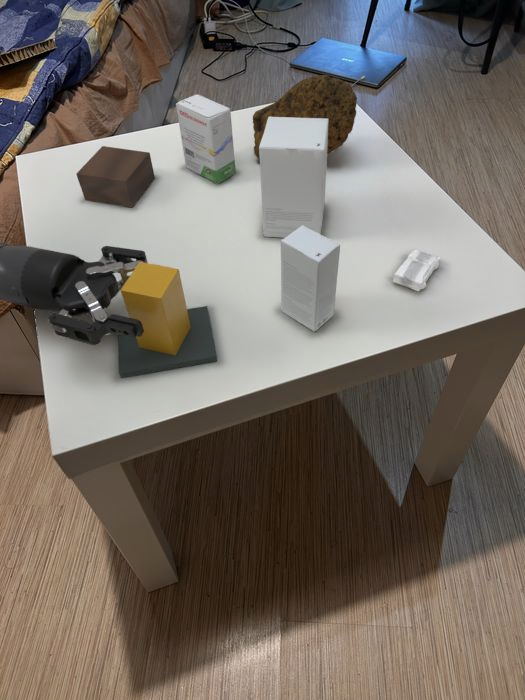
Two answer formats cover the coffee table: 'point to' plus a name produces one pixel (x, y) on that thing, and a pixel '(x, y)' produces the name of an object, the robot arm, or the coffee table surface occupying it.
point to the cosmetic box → (309, 277)
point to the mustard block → (157, 306)
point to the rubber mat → (190, 353)
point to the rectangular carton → (293, 174)
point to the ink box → (207, 137)
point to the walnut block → (116, 176)
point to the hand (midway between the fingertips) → (157, 303)
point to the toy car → (416, 270)
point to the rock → (313, 108)
